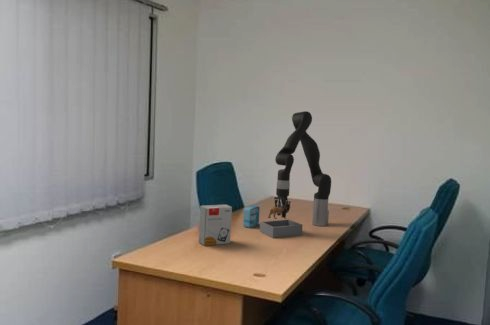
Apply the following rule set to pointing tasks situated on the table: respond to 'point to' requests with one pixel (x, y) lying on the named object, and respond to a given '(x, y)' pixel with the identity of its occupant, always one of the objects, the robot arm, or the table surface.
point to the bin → (280, 228)
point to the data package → (251, 216)
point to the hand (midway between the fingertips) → (281, 216)
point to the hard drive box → (215, 224)
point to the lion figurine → (277, 211)
